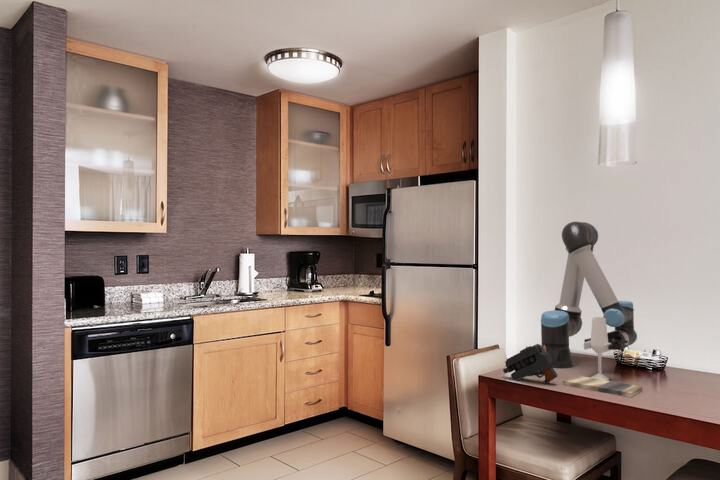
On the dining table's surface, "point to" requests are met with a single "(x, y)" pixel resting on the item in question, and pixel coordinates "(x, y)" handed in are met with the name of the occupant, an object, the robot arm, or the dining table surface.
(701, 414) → the dining table surface
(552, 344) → the robot arm
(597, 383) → the subfloor board
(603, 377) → the champagne flute
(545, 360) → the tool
